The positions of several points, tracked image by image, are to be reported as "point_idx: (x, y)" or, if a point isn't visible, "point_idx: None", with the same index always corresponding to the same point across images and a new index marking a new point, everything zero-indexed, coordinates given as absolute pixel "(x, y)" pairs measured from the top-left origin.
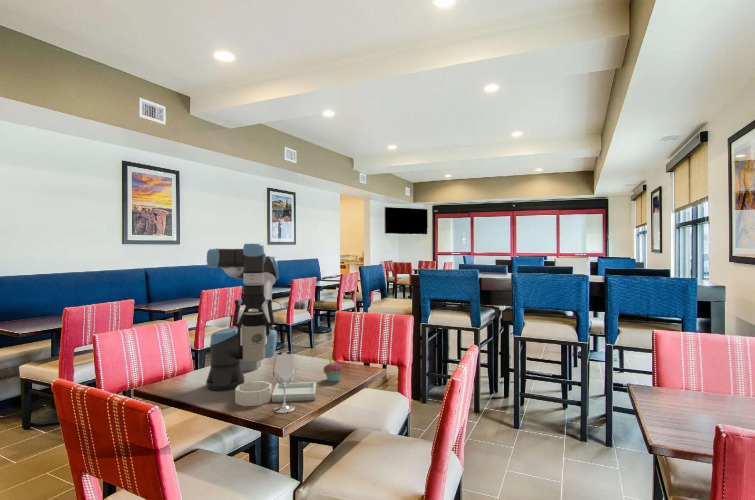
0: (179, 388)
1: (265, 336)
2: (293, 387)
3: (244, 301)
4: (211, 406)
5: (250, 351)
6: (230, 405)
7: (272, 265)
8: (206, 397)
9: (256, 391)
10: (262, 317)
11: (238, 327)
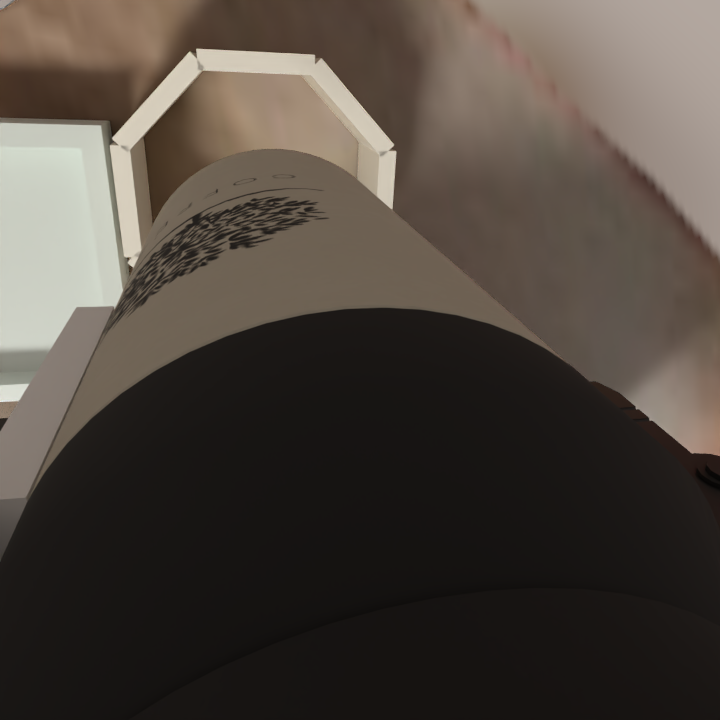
0: (699, 417)
1: (43, 374)
2: (3, 364)
3: None
4: (514, 92)
5: (310, 172)
6: (396, 91)
7: None
8: (558, 265)
9: (208, 61)
10: None
11: (711, 458)
